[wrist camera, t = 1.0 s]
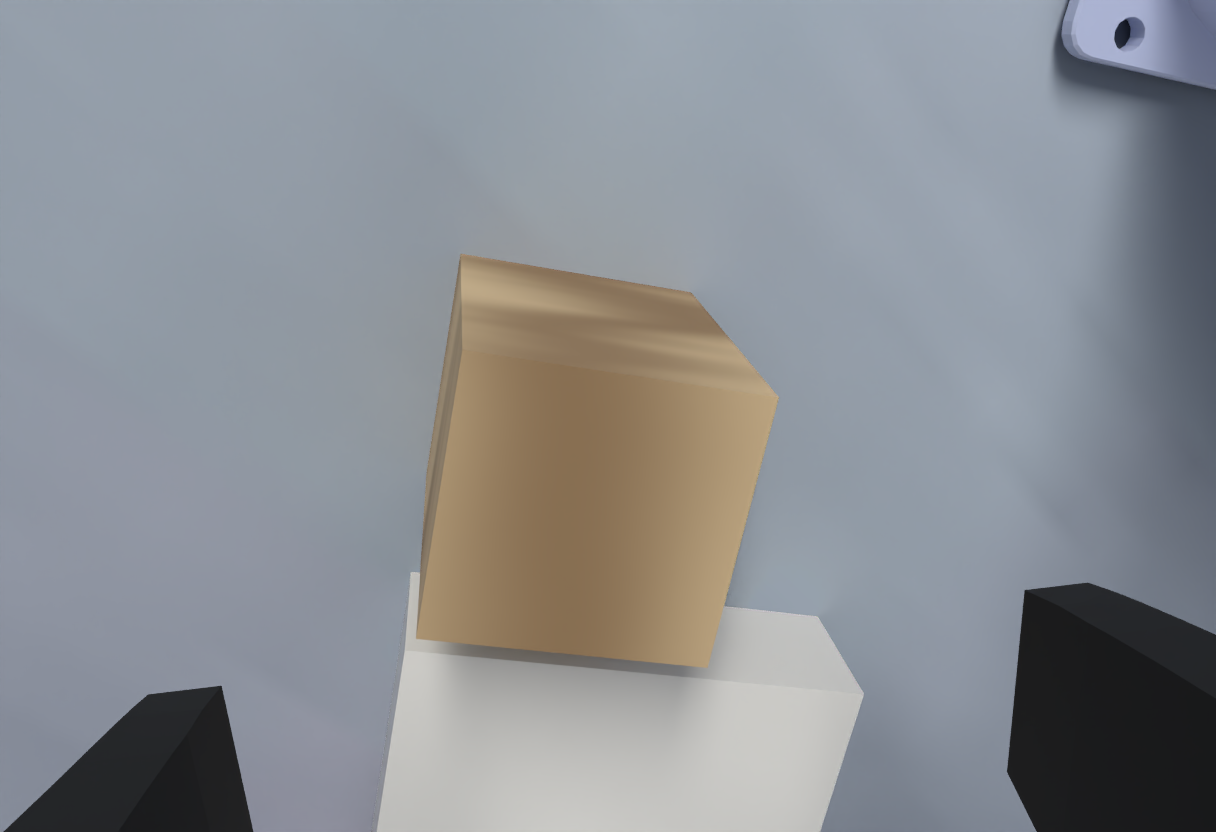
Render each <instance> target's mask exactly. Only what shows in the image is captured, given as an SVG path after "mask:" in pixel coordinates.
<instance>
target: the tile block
mask: <svg viewBox="0 0 1216 832" xmlns="http://www.w3.org/2000/svg"><path fill="white" fill-rule="evenodd" d="M419 584H420V573H416V572H411V575H410V581H409V588H408V594H407V601H406V607H405V614H404V620H403V627H402V633H401V640H400V646H399V653H398V659H397V666H396V672H395V679H394V686H393V692H392V699H391V705H390V712H389V718H388V725H387V731H386V738H385V744H384V751H383V757H382V764H381V770H380V777H379V784H378V790H377V797H376V803H375V810H374V816H373V823H372V829H371V832H820V831H821V827H822V824H823V821H824V818H825V815H826V812H827V809H828V805H829V802H830V799H831V796H832V793H833V790H834V787H835V784H836V780H837V777H838V774H839V771H840V768H841V765H842V762H843V759H844V755H845V752H846V749H847V746H848V743H849V740H850V737H851V733H852V730H853V727H854V724H855V721H856V718H857V715H858V712H859V708H860V705H861V702H862V699H863V696H864V693H863V691H862V690H861V688H860V686H859V685H858V683H857V681H856V680H855V678H854V676H853V675H852V673H851V671H850V670H849V668H848V666H847V665H846V663H845V661H844V660H843V658H842V656H841V655H840V653H839V651H838V650H837V648H836V646H835V645H834V643H833V641H832V640H831V638H830V636H829V635H828V633H827V631H826V630H825V628H824V626H823V625H822V623H821V621H820V620H819V618H818V617H817V616H808V615H799V614H790V613H781V612H772V611H763V610H754V609H744V608H735V607H726V606H724V607H723V611H722V615H721V619H720V623H719V626H718V630H717V634H716V638H715V642H714V645H713V649H712V653H711V657H710V661H709V664H708V668H703V667H693V666H683V665H673V664H663V663H653V662H643V661H633V660H623V659H613V658H603V657H593V656H583V655H573V654H563V653H553V652H543V651H533V650H523V649H512V648H502V647H492V646H482V645H472V644H462V643H452V642H442V641H432V640H422V639H416V630H417V615H418V599H419Z"/></svg>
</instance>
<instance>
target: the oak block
mask: <svg viewBox="0 0 1216 832" xmlns="http://www.w3.org/2000/svg"><path fill="white" fill-rule="evenodd" d="M778 399H779V397H778V396H777V395H776V394H775V392H774V391H773V390H772V389H771V388H770V386H769V385H768V384H767V383H766V382H765V380H764V379H763V378H762V377H761V376H760V374H759V373H758V372H757V371H756V370H755V368H754V367H753V366H752V365H751V364H750V362H749V361H748V360H747V359H746V358H745V356H744V355H743V354H742V353H741V352H740V350H739V349H738V348H737V347H736V346H735V344H734V343H733V342H732V341H731V340H730V338H729V337H728V336H727V335H726V334H725V332H724V331H723V330H722V329H721V328H720V327H719V325H718V324H717V323H716V322H715V321H714V319H713V318H712V317H711V316H710V315H709V313H708V312H707V311H706V310H705V309H704V307H703V306H702V305H701V304H700V303H699V301H698V300H697V299H696V298H695V297H694V295H693V294H692V293H691V292H685V291H679V290H673V289H667V288H661V287H655V286H649V285H643V284H637V283H631V282H625V281H619V280H613V279H607V278H601V277H595V276H589V275H584V274H578V273H572V272H566V271H560V270H554V269H548V268H542V267H536V266H530V265H524V264H518V263H512V262H506V261H500V260H494V259H488V258H482V257H477V256H471V255H465V254H461V255H460V261H459V268H458V274H457V281H456V287H455V294H454V300H453V306H452V313H451V319H450V326H449V332H448V339H447V345H446V352H445V358H444V364H443V371H442V377H441V384H440V390H439V397H438V403H437V409H436V416H435V422H434V429H433V435H432V442H431V448H430V455H429V461H428V467H427V475H426V491H425V506H424V522H423V537H422V553H421V568H420V584H419V599H418V615H417V630H416V639H422V640H432V641H442V642H452V643H462V644H472V645H482V646H492V647H502V648H512V649H523V650H533V651H543V652H553V653H563V654H573V655H583V656H593V657H603V658H613V659H623V660H633V661H643V662H653V663H663V664H673V665H683V666H693V667H703V668H708V664H709V661H710V657H711V653H712V649H713V645H714V642H715V638H716V634H717V630H718V626H719V623H720V619H721V615H722V611H723V607H724V604H725V600H726V596H727V592H728V589H729V585H730V581H731V577H732V573H733V570H734V566H735V562H736V558H737V554H738V551H739V547H740V543H741V539H742V535H743V532H744V528H745V524H746V520H747V516H748V513H749V509H750V505H751V501H752V498H753V494H754V490H755V486H756V482H757V479H758V475H759V471H760V467H761V463H762V460H763V456H764V452H765V448H766V444H767V441H768V437H769V433H770V429H771V426H772V422H773V418H774V414H775V410H776V407H777V403H778Z"/></svg>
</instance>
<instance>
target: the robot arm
mask: <svg viewBox="0 0 1216 832" xmlns="http://www.w3.org/2000/svg"><path fill="white" fill-rule="evenodd" d="M1124 19H1126V20H1127V21H1128V22H1129V25H1130V27H1131V33H1130V38H1129V40H1128V42H1127V43H1126V45H1125V46H1123V47H1122V48H1120V49H1119V48H1117V46H1116V44H1115V41H1114V35H1115V30H1116V28H1117V27H1118V25H1119V23H1120V22H1122V21H1123V20H1124ZM1061 35H1062V39H1063V43H1064V46H1065V48H1066V49H1067V50H1068V52H1069V53H1070V54H1071V55H1073V56H1075V57H1077V58H1079V59H1082V60H1086V61H1090V62H1095V63H1099V64H1104V65H1108V66H1112V67H1117V68H1121V69H1126V70H1130V71H1134V72H1139V73H1143V74H1148V75H1152V76H1156V77H1161V78H1165V79H1170V80H1174V81H1178V82H1183V83H1187V84H1192V85H1196V86H1201V87H1205V88H1209V89H1214V90H1216V0H1070V1H1069V4H1068V8H1067V11H1066V14H1065V17H1064V20H1063V26H1062V33H1061ZM1007 773H1008V775H1009V777H1010V779H1011V781H1012V783H1013V785H1014V787H1015V789H1016V791H1017V793H1018V795H1019V797H1020V799H1021V801H1022V803H1023V805H1024V807H1025V809H1026V811H1027V813H1028V815H1029V817H1030V819H1031V821H1032V823H1033V825H1034V827H1035V829H1036V831H1037V832H1216V635H1215V634H1212V633H1210V632H1208V631H1206V630H1203V629H1201V628H1199V627H1197V626H1195V625H1192V624H1190V623H1188V622H1185V621H1183V620H1181V619H1179V618H1176V617H1174V616H1172V615H1169V614H1167V613H1165V612H1162V611H1160V610H1158V609H1155V608H1153V607H1151V606H1148V605H1146V604H1144V603H1141V602H1139V601H1136V600H1134V599H1131V598H1129V597H1126V596H1124V595H1121V594H1119V593H1116V592H1113V591H1111V590H1108V589H1105V588H1102V587H1099V586H1096V585H1093V584H1090V583H1081V584H1073V585H1064V586H1056V587H1048V588H1039V589H1031V590H1025V593H1024V603H1023V614H1022V624H1021V634H1020V645H1019V655H1018V665H1017V676H1016V686H1015V696H1014V706H1013V717H1012V727H1011V737H1010V748H1009V758H1008V768H1007ZM4 832H253V829H252V824H251V819H250V815H249V810H248V806H247V801H246V796H245V792H244V787H243V783H242V778H241V773H240V769H239V764H238V760H237V755H236V750H235V746H234V741H233V737H232V732H231V727H230V723H229V718H228V714H227V709H226V704H225V700H224V695H223V691H222V686H216V687H208V688H199V689H191V690H182V691H174V692H166V693H157V694H149V695H147V696H146V697H145V698H144V699H142V700H141V701H140V702H139V703H138V704H137V705H136V706H134V707H133V708H132V709H131V710H130V711H129V712H128V713H127V714H126V715H125V716H123V717H122V718H121V719H120V720H119V721H118V722H117V723H116V724H115V725H114V726H113V727H112V728H111V729H110V730H109V731H108V732H107V733H106V734H105V735H104V736H103V737H102V738H101V739H99V740H98V741H97V742H96V743H95V744H94V745H93V746H92V747H91V748H90V749H89V750H88V751H87V752H86V753H85V754H84V755H83V756H82V757H81V758H80V759H79V760H78V761H77V762H76V763H75V764H74V765H73V766H72V767H71V768H70V769H69V770H68V771H67V772H66V773H65V774H64V775H63V776H61V777H60V778H59V779H58V780H57V781H56V782H55V783H54V784H53V785H52V786H51V787H50V788H49V789H48V790H47V791H46V792H45V793H44V794H43V795H42V796H41V797H40V798H39V799H38V800H37V801H35V802H34V803H33V804H32V805H31V806H30V807H29V808H28V809H27V810H26V811H25V812H24V813H23V814H22V815H21V816H20V817H19V818H18V819H17V820H15V821H14V822H13V823H12V824H11V825H10V826H9V827H8V828H7V829H6V830H5V831H4Z"/></svg>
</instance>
